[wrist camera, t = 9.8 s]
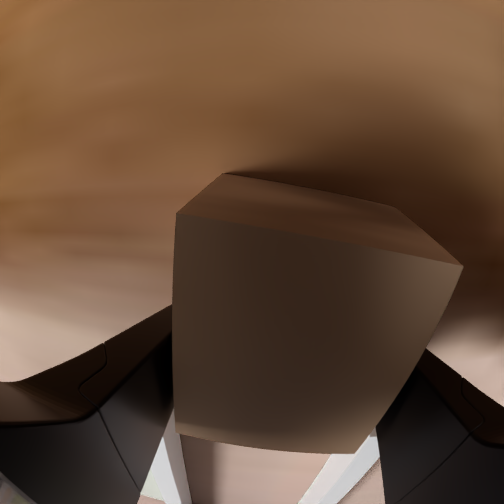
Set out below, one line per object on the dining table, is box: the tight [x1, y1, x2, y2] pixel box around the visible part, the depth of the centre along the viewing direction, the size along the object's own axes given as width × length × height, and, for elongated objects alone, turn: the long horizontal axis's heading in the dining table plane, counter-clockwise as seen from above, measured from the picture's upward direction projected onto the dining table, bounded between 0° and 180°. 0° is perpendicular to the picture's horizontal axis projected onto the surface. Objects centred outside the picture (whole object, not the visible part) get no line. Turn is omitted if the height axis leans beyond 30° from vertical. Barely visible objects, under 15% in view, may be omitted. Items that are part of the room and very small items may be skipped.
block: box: [172, 173, 464, 454], centre depth 8 cm, size 5×6×4 cm
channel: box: [150, 409, 380, 504], centre depth 14 cm, size 10×18×2 cm, turn 174°
